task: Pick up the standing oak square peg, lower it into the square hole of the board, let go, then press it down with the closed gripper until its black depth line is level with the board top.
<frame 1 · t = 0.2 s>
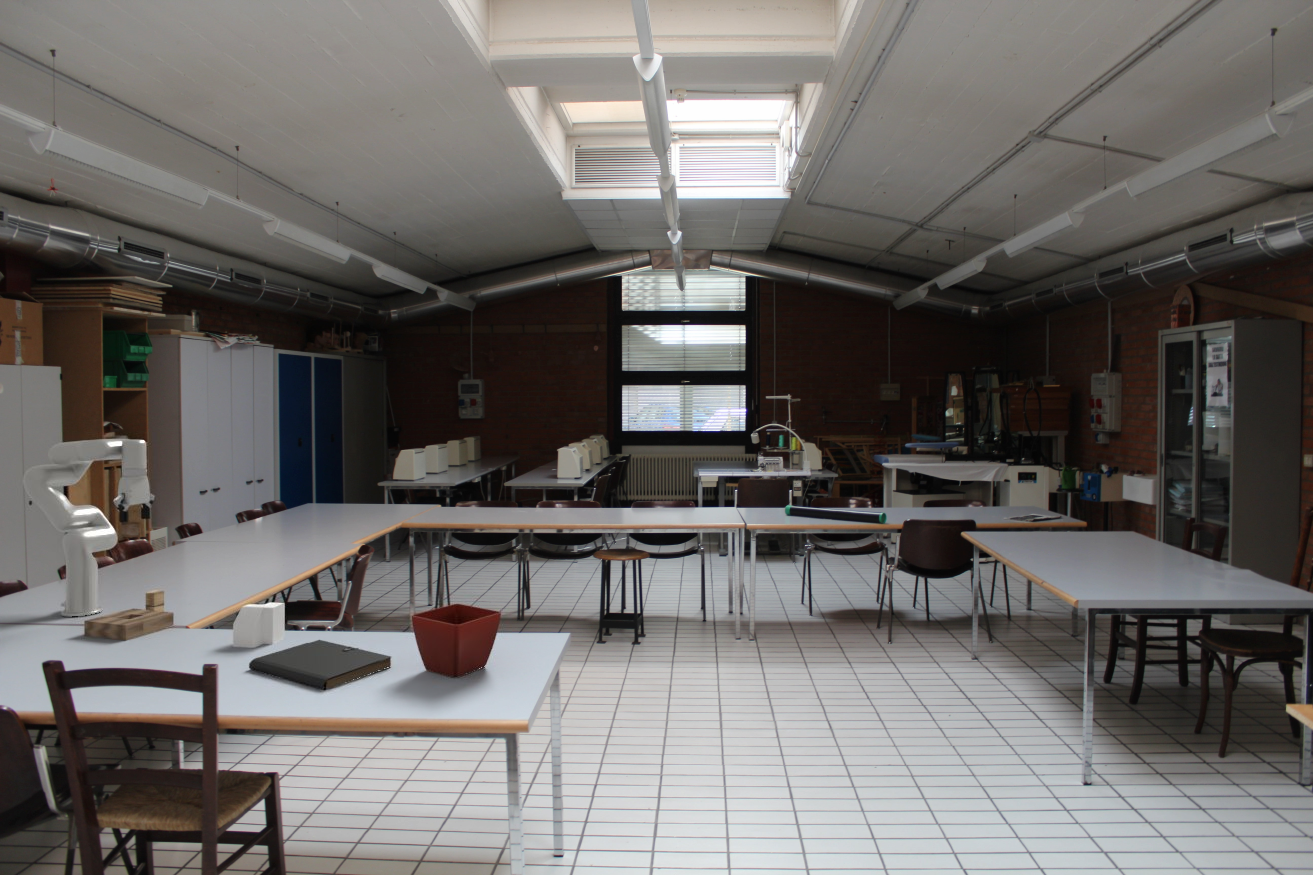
hand: (135, 520, 283), 36 cm above the table, tool pointing down, fingers open, 9 cm apart
corner bracket: (259, 643, 257), on the table
board: (129, 630, 268), on the table
plant pot: (456, 669, 233), on the table
dark grey book: (321, 670, 232), on the table
peg: (154, 618, 284), on the table
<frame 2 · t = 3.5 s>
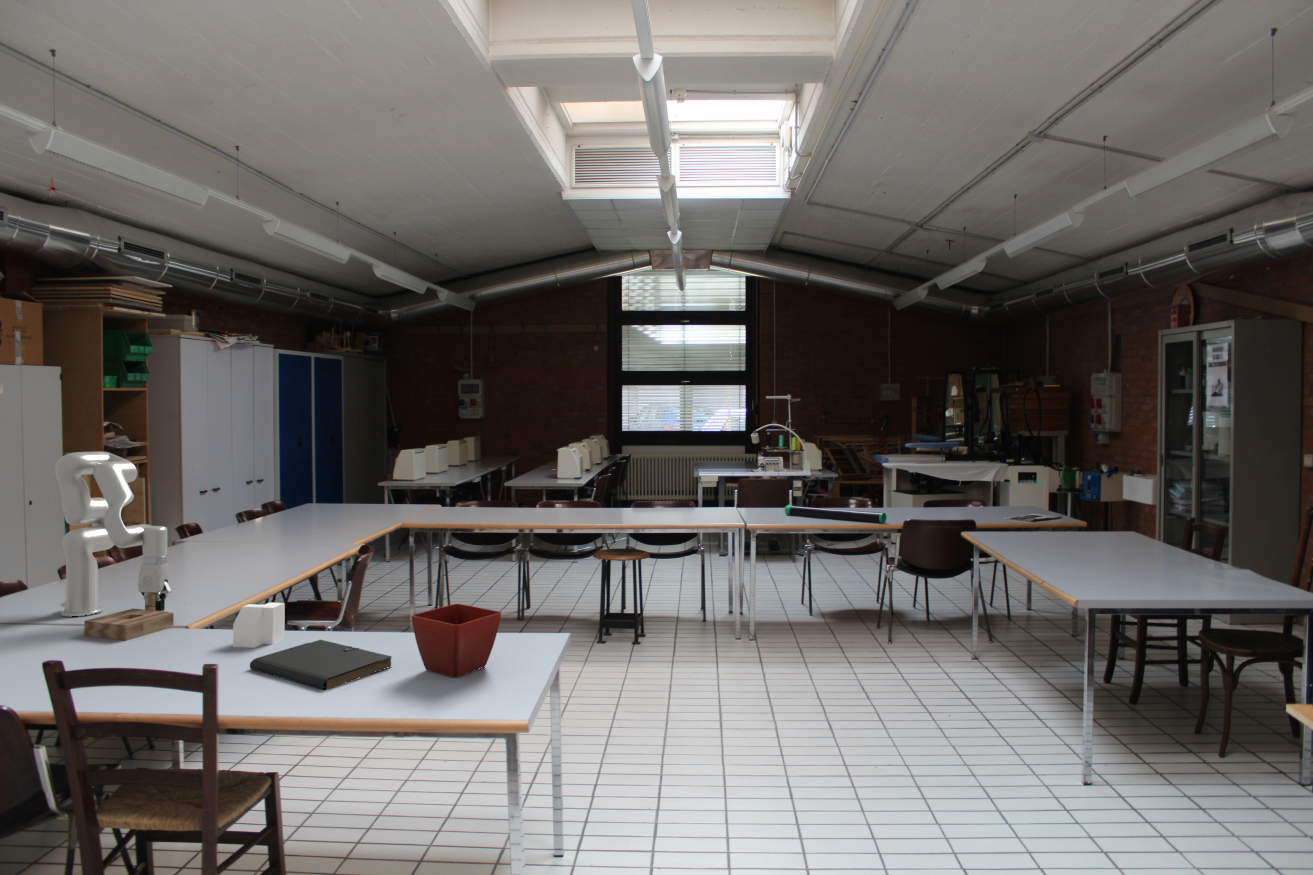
hand: (154, 609, 284), 3 cm above the table, tool pointing down, fingers closed on peg, 4 cm apart
peg: (154, 618, 284), on the table, touching gripper
everything else where it was.
when the fingers open (6 cm above the table, at t = 9.9 s): peg drops 3 cm, resting in board.
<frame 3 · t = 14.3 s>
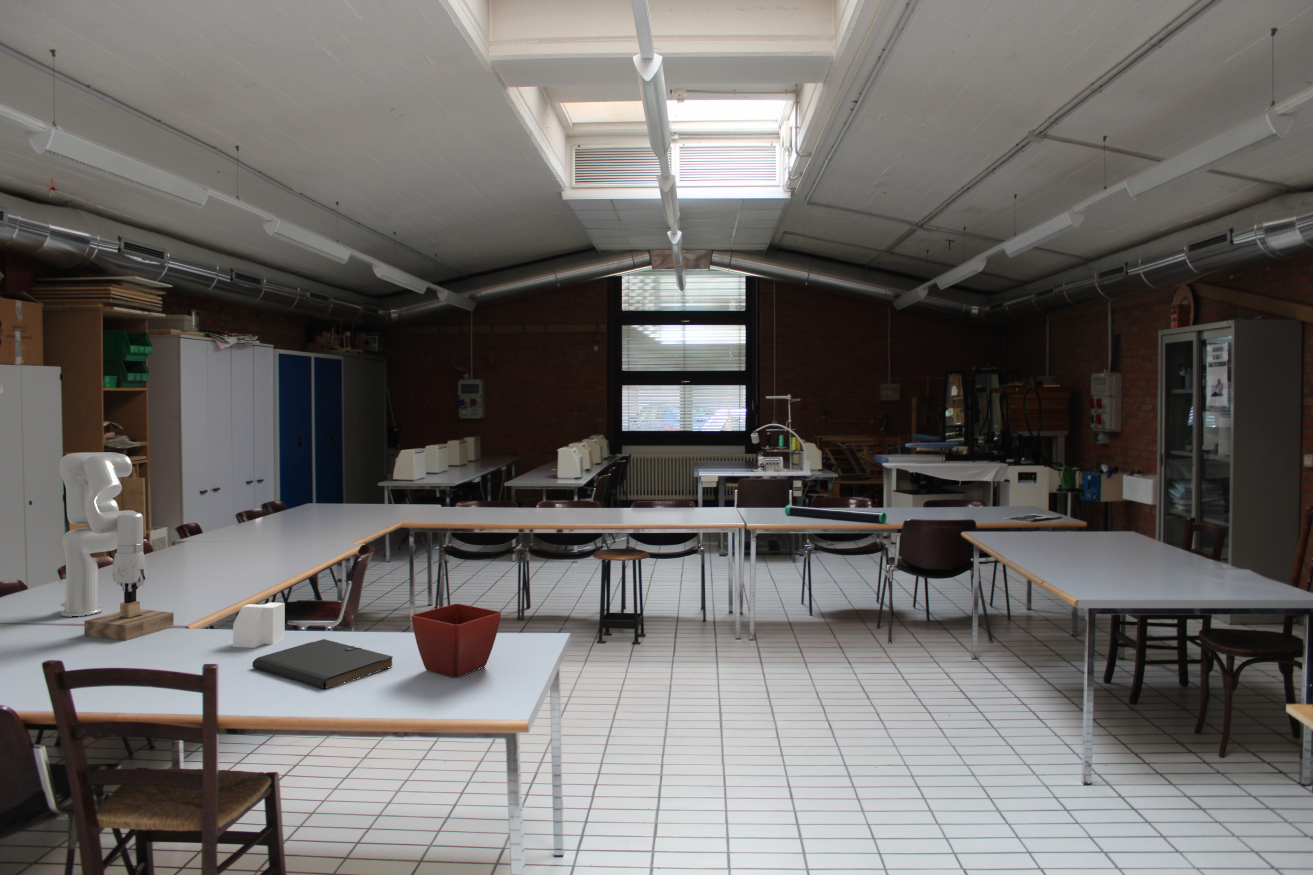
hand: (130, 602, 268), 10 cm above the table, tool pointing down, fingers closed
peg: (129, 630, 268), resting in board, touching gripper
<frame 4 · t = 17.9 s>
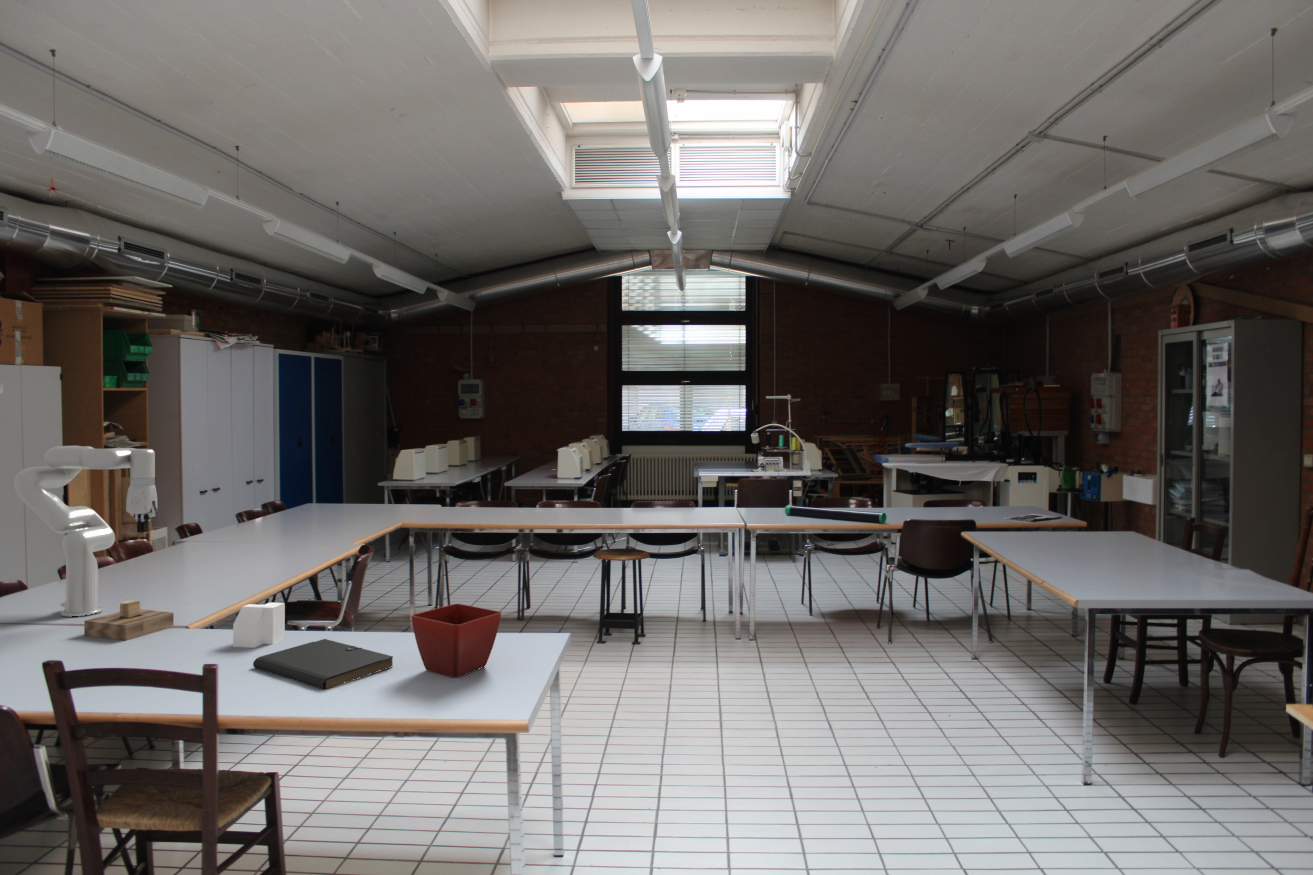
hand: (142, 531, 287), 31 cm above the table, tool pointing down, fingers closed
peg: (129, 630, 268), resting in board
everything else where it was.
at the end: peg 0.1 cm off-centre on the board, point 0.0 cm above the board's base; peg tilted 0°; the gripper is holding nothing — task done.
